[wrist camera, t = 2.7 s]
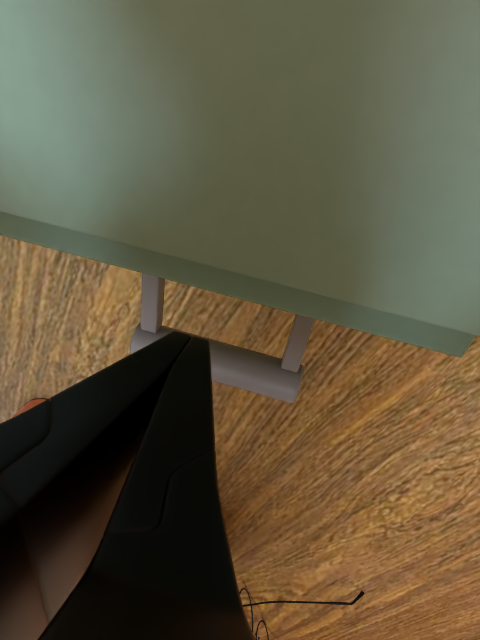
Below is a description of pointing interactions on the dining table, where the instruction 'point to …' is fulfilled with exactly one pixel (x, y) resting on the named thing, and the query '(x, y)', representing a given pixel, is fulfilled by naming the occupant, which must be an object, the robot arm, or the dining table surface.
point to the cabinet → (258, 139)
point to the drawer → (227, 359)
